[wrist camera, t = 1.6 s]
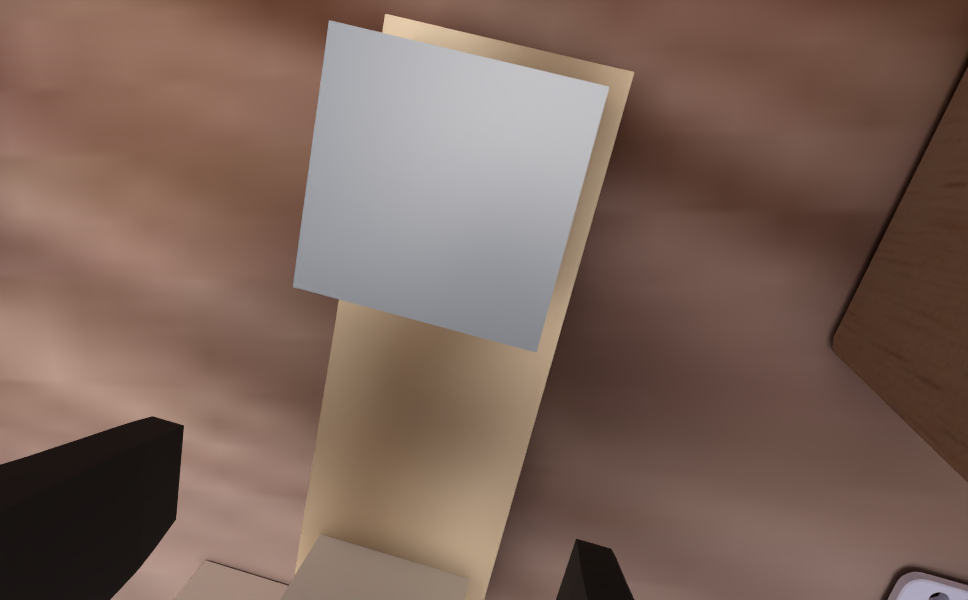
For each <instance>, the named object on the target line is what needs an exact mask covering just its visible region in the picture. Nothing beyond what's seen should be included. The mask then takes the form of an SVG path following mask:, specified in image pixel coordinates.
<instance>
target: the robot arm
mask: <svg viewBox="0 0 968 600" xmlns="http://www.w3.org/2000/svg"><path fill="white" fill-rule="evenodd" d="M183 430H184V425H180V424H177V423H173V422H170V421H166V420H163V419H159V418H156V417H153V416H152V417H149V418H145V419H141V420H137V421H134V422H131V423H127V424H124V425H121V426H118V427H115V428H112V429H109V430H106V431H103V432H100V433H97V434H94V435H91V436H88V437H85V438H82V439H79V440H76V441H73V442H70V443H67V444H64V445H61V446H58V447H55V448H52V449H49V450H46V451H43V452H40V453H37V454H34V455H31V456H28V457H24V458H21V459H18V460H15V461H11V462H8V463H5V464H1V465H0V600H110V599H111V598H112V597H113V596H114V595H115V594H116V593H117V592H118V591H119V590H120V589H121V588H122V587H123V585H124V584H125V583H126V582H127V581H128V580H129V579H130V578H131V577H132V576H133V575H134V574H135V573H136V572H137V570H138V569H139V568H140V567H141V566H142V564H143V563H144V562H145V560H146V559H147V558H148V557H149V555H150V554H151V553H152V551H153V550H154V549H155V547H156V546H157V545H158V543H159V542H160V541H161V539H162V538H163V537H164V535H165V534H166V532H167V531H168V530H169V528H170V527H171V525H172V524H173V523H174V521H175V520H176V513H177V501H178V489H179V477H180V465H181V454H182V442H183ZM937 592H941V593H940V594H939V595H938V596H936V597H933V598H931V597H930V596H931V595H932V594H934V593H937ZM556 600H634V598H633V596H632V593H631V591H630V589H629V587H628V584H627V582H626V580H625V578H624V575H623V573H622V571H621V568H620V566H619V564H618V561H617V559H616V557H615V555H614V553H613V551H612V549H610V548H606V547H603V546H599V545H596V544H593V543H589V542H586V541H582V540H579V539H576V541H575V544H574V547H573V550H572V553H571V556H570V559H569V562H568V565H567V568H566V571H565V574H564V577H563V580H562V583H561V586H560V589H559V592H558V595H557V598H556ZM888 600H968V585H965V584H961V583H958V582H954V581H950V580H947V579H943V578H940V577H936V576H933V575H929V574H926V573H922V572H911V573H907V574H905V575H903V576H901V578H900V579H899V580H898V581H897V583H896V585H895V587H894V588H893V590H892V592H891V594H890V596H889V598H888Z"/></svg>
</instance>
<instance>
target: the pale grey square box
mask: <svg viewBox="0 0 968 600" xmlns="http://www.w3.org/2000/svg"><path fill="white" fill-rule="evenodd" d="M608 91H609V86H605V85H601V84H596V83H592V82H588V81H584V80H579V79H575V78H571V77H567V76H562V75H558V74H554V73H550V72H546V71H541V70H537V69H533V68H529V67H524V66H520V65H516V64H512V63H507V62H503V61H499V60H495V59H491V58H486V57H482V56H478V55H474V54H469V53H465V52H461V51H457V50H452V49H448V48H444V47H440V46H436V45H431V44H427V43H423V42H419V41H414V40H410V39H406V38H402V37H397V36H393V35H389V34H385V33H381V32H376V31H372V30H368V29H364V28H359V27H355V26H351V25H347V24H342V23H338V22H334V21H330V20H329V25H328V32H327V40H326V47H325V54H324V62H323V69H322V76H321V84H320V91H319V98H318V105H317V113H316V120H315V127H314V135H313V142H312V149H311V157H310V164H309V171H308V179H307V186H306V193H305V201H304V208H303V215H302V222H301V230H300V237H299V244H298V252H297V259H296V266H295V274H294V281H293V287H295V288H299V289H302V290H306V291H310V292H313V293H317V294H321V295H325V296H328V297H332V298H336V299H339V300H343V301H347V302H350V303H354V304H358V305H362V306H365V307H369V308H373V309H376V310H380V311H384V312H388V313H391V314H395V315H399V316H402V317H406V318H410V319H413V320H417V321H421V322H425V323H428V324H432V325H436V326H439V327H443V328H447V329H450V330H454V331H458V332H462V333H465V334H469V335H473V336H476V337H480V338H484V339H488V340H491V341H495V342H499V343H502V344H506V345H510V346H513V347H517V348H521V349H525V350H528V351H532V352H537V349H538V345H539V341H540V338H541V334H542V331H543V327H544V323H545V320H546V316H547V312H548V309H549V305H550V301H551V298H552V294H553V291H554V287H555V283H556V280H557V276H558V272H559V269H560V265H561V261H562V258H563V254H564V251H565V247H566V243H567V240H568V236H569V232H570V229H571V225H572V221H573V218H574V214H575V211H576V207H577V203H578V200H579V196H580V192H581V189H582V185H583V181H584V178H585V174H586V171H587V167H588V163H589V160H590V156H591V152H592V149H593V145H594V141H595V138H596V134H597V131H598V127H599V123H600V120H601V116H602V112H603V109H604V105H605V101H606V98H607V94H608Z"/></svg>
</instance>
